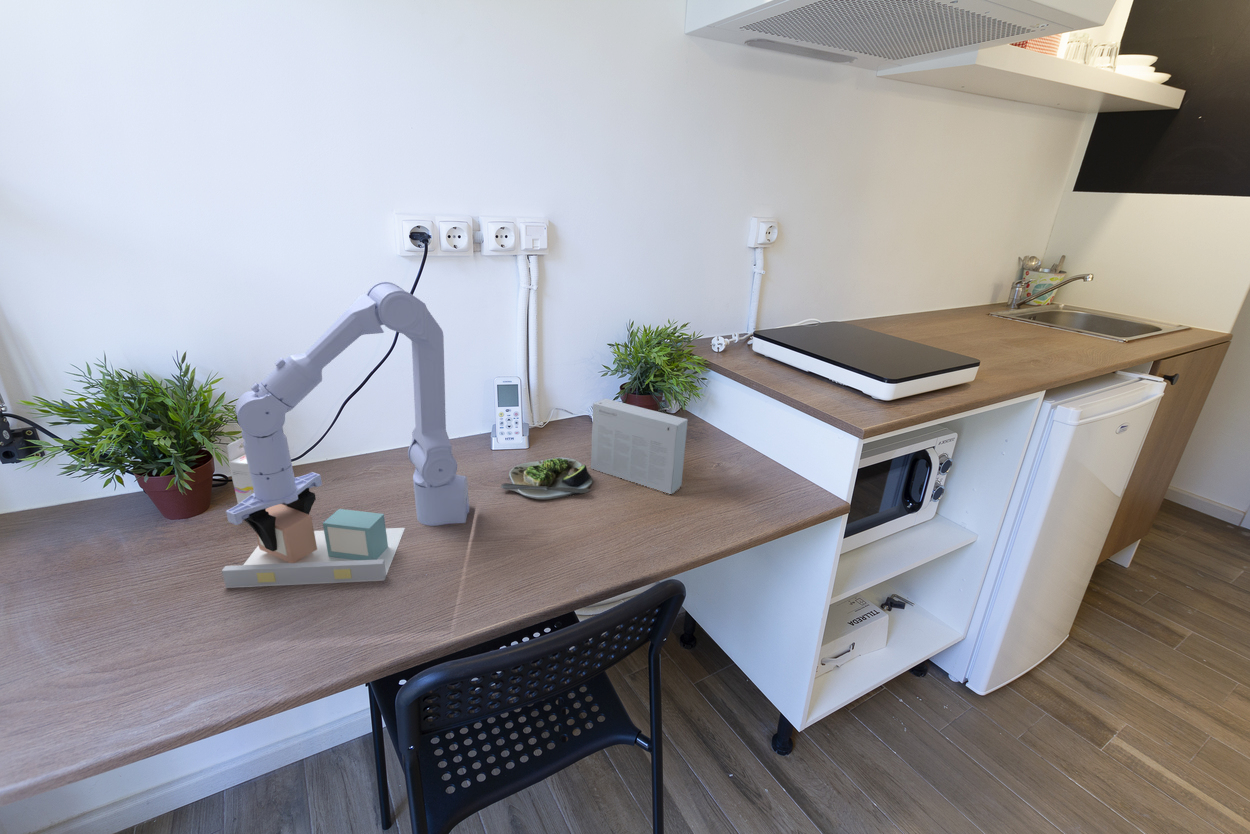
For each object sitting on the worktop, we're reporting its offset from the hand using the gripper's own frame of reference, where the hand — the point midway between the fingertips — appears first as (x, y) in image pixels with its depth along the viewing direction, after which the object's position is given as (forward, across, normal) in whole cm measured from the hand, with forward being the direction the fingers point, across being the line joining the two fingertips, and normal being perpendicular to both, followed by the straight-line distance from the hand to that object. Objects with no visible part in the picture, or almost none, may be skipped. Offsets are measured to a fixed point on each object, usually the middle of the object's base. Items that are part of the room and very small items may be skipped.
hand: (286, 540), depth 95 cm
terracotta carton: (+2, 0, 0) cm, 2 cm away
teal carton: (+3, +6, -9) cm, 11 cm away
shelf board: (+4, +3, -5) cm, 7 cm away
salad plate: (+4, +45, -23) cm, 51 cm away
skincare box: (+4, +56, -37) cm, 67 cm away
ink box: (+4, +9, +18) cm, 20 cm away
